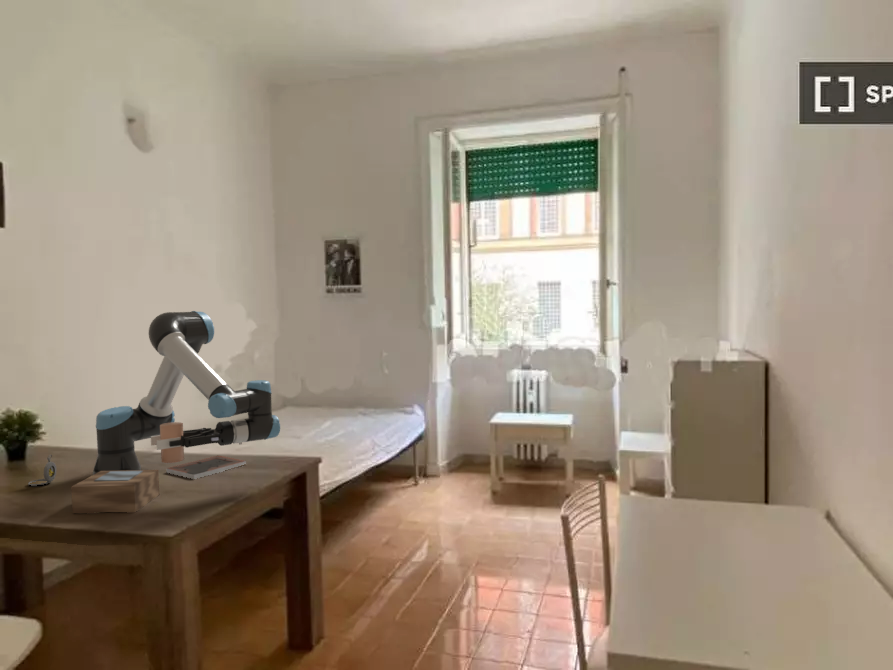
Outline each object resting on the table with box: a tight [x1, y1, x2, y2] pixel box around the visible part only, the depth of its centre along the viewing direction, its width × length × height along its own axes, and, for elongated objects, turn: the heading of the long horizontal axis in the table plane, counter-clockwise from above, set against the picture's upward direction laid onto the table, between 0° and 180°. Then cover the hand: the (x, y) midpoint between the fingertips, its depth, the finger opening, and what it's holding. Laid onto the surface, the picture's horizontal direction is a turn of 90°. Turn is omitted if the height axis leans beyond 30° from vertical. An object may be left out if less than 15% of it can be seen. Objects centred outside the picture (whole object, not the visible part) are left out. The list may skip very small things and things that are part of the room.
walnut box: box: [70, 469, 160, 514], centre depth 198 cm, size 17×18×8 cm
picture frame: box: [165, 455, 247, 480], centre depth 237 cm, size 16×2×22 cm
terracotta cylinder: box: [160, 421, 185, 464], centre depth 198 cm, size 6×6×11 cm
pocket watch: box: [27, 454, 58, 487], centre depth 220 cm, size 8×8×10 cm
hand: (154, 443), depth 195 cm, fingers closed on terracotta cylinder, 6 cm apart
